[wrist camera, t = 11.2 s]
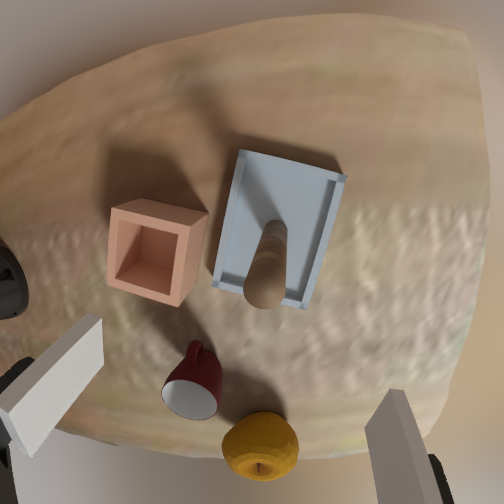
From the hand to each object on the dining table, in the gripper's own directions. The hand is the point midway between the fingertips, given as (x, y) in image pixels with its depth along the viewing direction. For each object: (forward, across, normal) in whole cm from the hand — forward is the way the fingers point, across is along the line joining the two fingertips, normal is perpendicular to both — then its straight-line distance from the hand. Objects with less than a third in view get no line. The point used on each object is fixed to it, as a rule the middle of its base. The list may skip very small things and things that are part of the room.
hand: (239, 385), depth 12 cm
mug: (+29, -6, -22) cm, 37 cm away
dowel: (+28, 0, 0) cm, 28 cm away
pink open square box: (+29, -14, -5) cm, 33 cm away
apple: (+29, +8, -35) cm, 46 cm away
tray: (+29, 0, 0) cm, 29 cm away
